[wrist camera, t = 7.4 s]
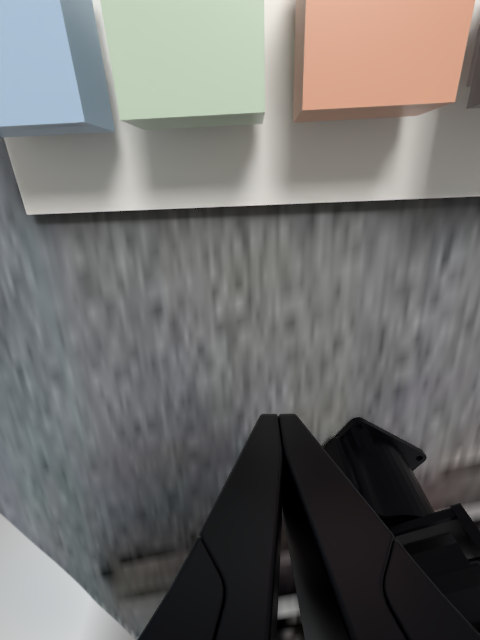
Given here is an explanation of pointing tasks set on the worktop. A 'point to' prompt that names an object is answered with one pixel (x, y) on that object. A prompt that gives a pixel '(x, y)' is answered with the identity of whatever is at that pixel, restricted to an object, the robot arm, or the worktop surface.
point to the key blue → (51, 69)
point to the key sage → (187, 61)
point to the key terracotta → (377, 57)
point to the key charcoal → (475, 86)
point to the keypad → (256, 150)
